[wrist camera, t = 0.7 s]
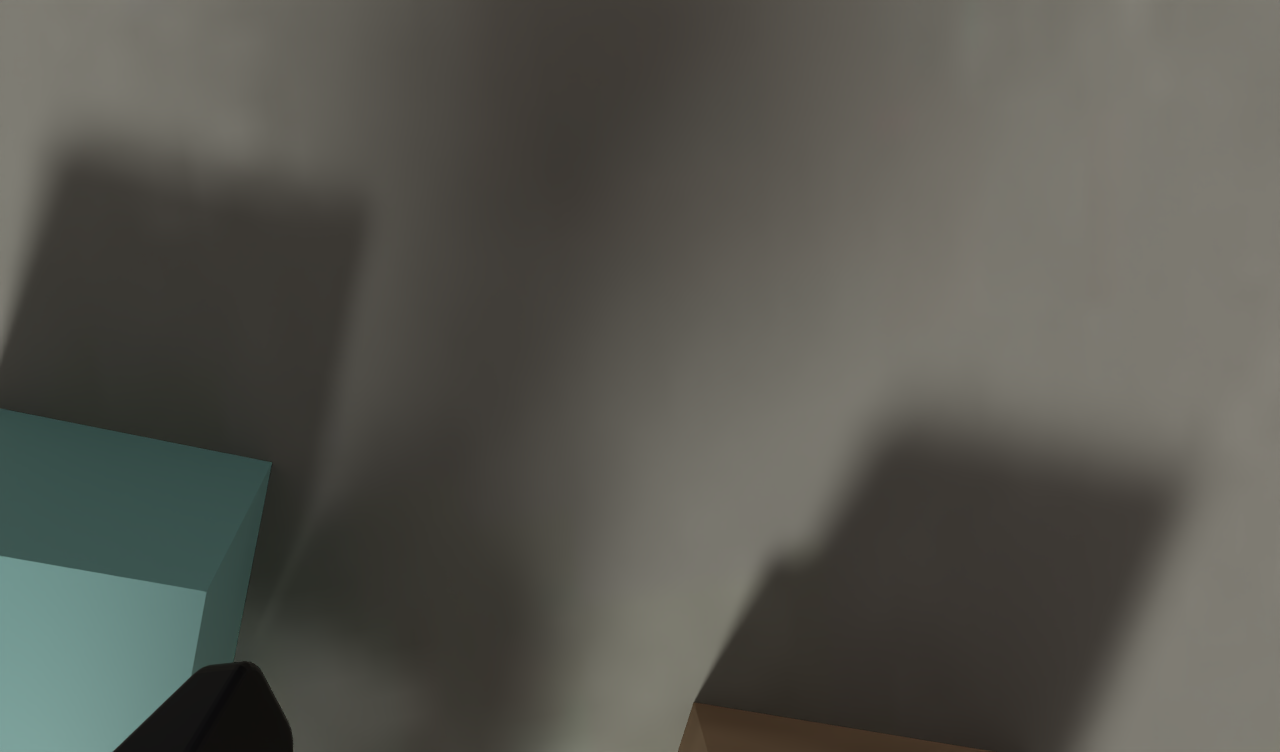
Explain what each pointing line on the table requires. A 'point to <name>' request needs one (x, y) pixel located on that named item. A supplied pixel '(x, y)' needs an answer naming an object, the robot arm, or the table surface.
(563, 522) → the table surface
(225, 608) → the teal cube
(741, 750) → the tower base
